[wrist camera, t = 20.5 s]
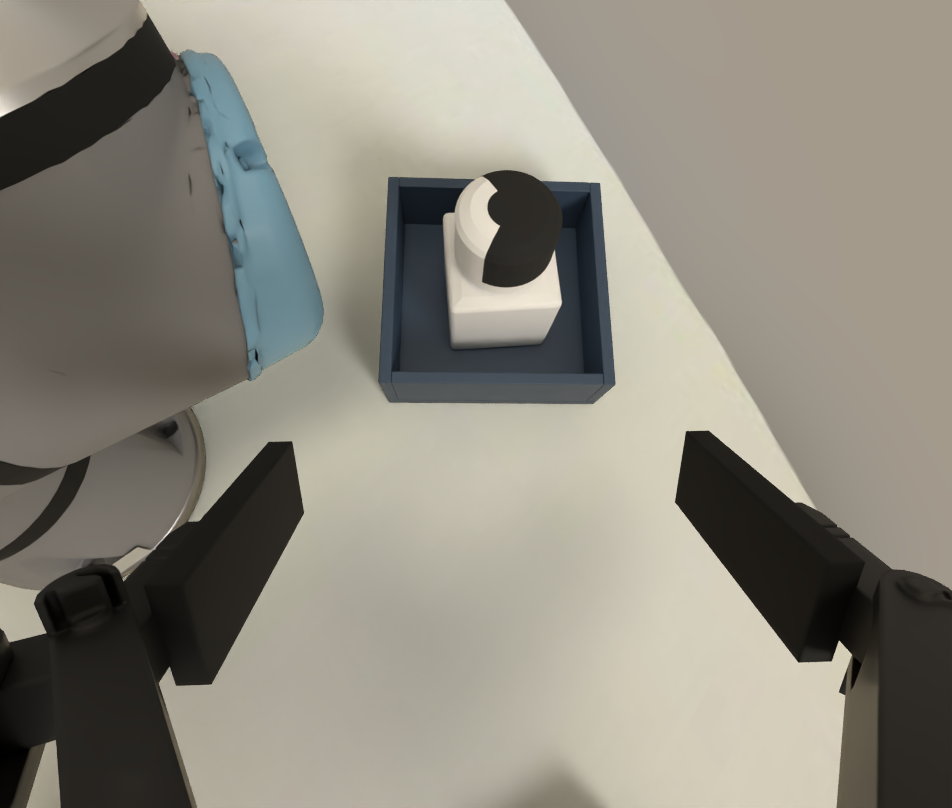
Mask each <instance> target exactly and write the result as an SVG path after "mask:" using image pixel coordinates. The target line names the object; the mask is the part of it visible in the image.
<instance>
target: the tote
mask: <svg viewBox="0 0 952 808" xmlns="http://www.w3.org/2000/svg"><path fill="white" fill-rule="evenodd" d="M474 180H475V179H443V178H408V177H400V178H399V177H389V178H388V196H387V217H386V238H385V259H384V280H383V300H382V321H381V342H380V363H379V384H380V386H381V387H382V389H383V391H384V393H385V395H386V397H387V399H388V400H389V402H410V403H542V404H593V403H595V402H596V401H597V400H598V399H599V398H600V397H602V396H603V395H604V394H605V393H606V392H607V391H609V390H610V389H611V388H612V387H613V386H614V385H615V372H614V359H613V346H612V333H611V320H610V307H609V294H608V281H607V268H606V255H605V242H604V229H603V216H602V203H601V190H600V183H586V182H550V181H541V182H542V183H544V184H545V185H546V186H547V187H548V188H549V189H550V190H551V191H552V192H553V194H554V195H555V197H556V198H557V200H558V202H559V205H560V207H561V211H562V220H563V223H562V230H561V233H560V236H559V239H558V242H557V244H556V247H555V256H556V263H557V271H558V278H559V285H560V292H561V300H562V304H561V307H560V309H559V311H558V313H557V315H556V317H555V319H554V321H553V323H552V325H551V327H550V329H549V331H548V333H547V335H546V337H545V339H544V341H543V343H542V344H539V345H525V346H509V347H494V348H478V349H462V350H454V349H452V348H451V344H450V331H449V318H448V304H447V291H446V278H445V261H444V236H443V217H444V215H445V214H446V213H455V207H456V204H457V201H458V199H459V196H460V195H461V193H462V192H463V190H464V189H465V188H466V187H467V186H468V185H469V184H470V183H471V182H472V181H474Z"/></svg>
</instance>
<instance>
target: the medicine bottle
mask: <svg viewBox="0 0 952 808" xmlns="http://www.w3.org/2000/svg"><path fill="white" fill-rule="evenodd" d="M562 223H563V220H562V211H561V207H560V205H559V202H558V200H557V198H556V197H555V195H554V194H553V192H552V191H551V190H550V189H549V188H548V187H547V186H546V185H545V184H544V183H542V182H541V181H540V180H538V179H536V178H535V177H533V176H531V175H528V174H526V173H523V172H518V171H511V170H502V171H495V172H491V173H488V174H485V175H483V176H480V177H479V178H477V179H475V180H474V181H472V182H471V183H470V184H469V185H468V186H467V187H466V188H465V189H464V190H463V192H462V193H461V195H460V196H459V199H458V201H457V204H456V207H455V213H446V214H445V215H444V217H443V236H444V261H445V278H446V291H447V304H448V318H449V331H450V344H451V348H452V349H454V350H462V349H478V348H494V347H509V346H525V345H539V344H542V343H543V341H544V339H545V337H546V335H547V333H548V331H549V329H550V327H551V325H552V323H553V321H554V319H555V317H556V315H557V313H558V311H559V309H560V307H561V304H562V300H561V292H560V285H559V278H558V271H557V263H556V256H555V247H556V244H557V242H558V239H559V236H560V233H561V230H562Z"/></svg>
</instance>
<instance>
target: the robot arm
mask: <svg viewBox="0 0 952 808" xmlns="http://www.w3.org/2000/svg"><path fill="white" fill-rule="evenodd" d="M178 58H179V59H178V60H176V59H175V58H174V57H173V56H172V54H171V52H170V51H169V49H168V47H167V46H166V44H165V42H164V41H163V39H162V37H161V35H160V34H159V32H158V30H157V29H156V27H155V25H154V24H153V22H152V20H151V18H150V17H149V15H148V13H147V12H146V9H145V8H144V6H143V4H142V3H141V1H140V0H0V583H4V584H7V585H11V586H15V587H19V588H24V589H30V590H42V591H41V592H40V593H39V594H38V595H37V597H36V599H35V602H34V605H35V607H36V610H37V612H38V614H39V617H40V619H41V621H42V623H43V626H44V628H45V630H46V634H42V635H38V636H34V637H30V638H26V639H22V640H18V641H14V642H10V643H9V641H8V639H7V637H6V635H5V633H4V631H3V630H1V629H0V808H26V806H27V803H28V800H29V797H30V793H31V790H32V787H33V783H34V780H35V777H36V773H37V770H38V767H39V764H40V760H41V757H42V754H43V750H44V747H45V744H46V743H47V742H50V741H54V740H56V746H57V759H58V773H59V787H60V801H61V808H197V805H196V802H195V799H194V796H193V792H192V789H191V786H190V783H189V779H188V776H187V773H186V770H185V766H184V763H183V760H182V757H181V753H180V750H179V747H178V744H177V740H176V737H175V734H174V731H173V727H172V724H171V721H170V718H169V714H168V711H167V708H166V705H165V701H164V698H163V695H162V692H161V689H160V686H159V682H160V680H161V679H162V677H163V676H164V674H165V672H166V671H167V669H168V668H169V666H170V669H171V672H172V675H173V678H174V681H175V684H176V686H182V685H209V684H212V682H213V681H214V679H215V677H216V675H217V673H218V671H219V670H220V668H221V666H222V664H223V662H224V660H225V658H226V657H227V655H228V653H229V651H230V649H231V647H232V645H233V644H234V642H235V640H236V638H237V636H238V634H239V632H240V631H241V629H242V627H243V625H244V623H245V621H246V619H247V618H248V616H249V614H250V612H251V610H252V608H253V607H254V605H255V603H256V601H257V599H258V597H259V595H260V594H261V592H262V590H263V588H264V586H265V584H266V582H267V581H268V579H269V577H270V575H271V573H272V571H273V569H274V568H275V566H276V564H277V562H278V560H279V558H280V556H281V555H282V553H283V551H284V549H285V547H286V545H287V543H288V542H289V540H290V538H291V536H292V534H293V532H294V531H295V529H296V527H297V525H298V523H299V521H300V519H301V518H302V516H303V514H304V510H303V504H302V498H301V492H300V486H299V480H298V474H297V468H296V462H295V456H294V450H293V444H292V441H289V442H268V443H267V445H266V446H265V447H264V448H263V449H262V450H261V451H260V452H259V454H258V455H257V456H256V457H255V458H254V459H253V460H252V462H251V463H250V464H249V465H248V466H247V467H246V468H245V470H244V471H243V472H242V473H241V474H240V475H239V476H238V478H237V479H236V480H235V481H234V482H233V483H232V484H231V486H230V487H229V488H228V489H227V490H226V491H225V492H224V494H223V495H222V496H221V497H220V498H219V499H218V500H217V502H216V503H215V504H214V505H213V506H212V507H211V508H210V510H209V511H208V512H207V513H206V514H205V515H204V516H203V518H202V519H201V520H200V521H199V522H187V521H188V519H189V517H190V515H191V514H192V512H193V510H194V508H195V505H196V503H197V501H198V498H199V495H200V492H201V489H202V485H203V481H204V475H205V465H206V454H205V445H204V439H203V435H202V431H201V428H200V426H199V423H198V421H197V419H196V417H195V415H194V413H193V412H192V410H191V409H190V407H191V406H193V405H195V404H197V403H199V402H201V401H203V400H205V399H207V398H209V397H211V396H213V395H215V394H217V393H219V392H222V391H224V390H226V389H228V388H230V387H232V386H234V385H236V384H238V383H240V382H242V381H244V380H246V379H247V380H249V381H252V380H254V379H256V378H257V377H258V376H259V375H260V374H261V372H262V370H263V369H265V368H267V367H269V366H270V365H272V364H274V363H276V362H278V361H280V360H281V359H283V358H285V357H287V356H289V355H291V354H292V353H294V352H296V351H298V350H300V349H301V348H303V347H305V346H307V345H308V344H309V343H310V342H311V341H312V340H314V338H315V337H316V336H317V334H318V332H319V329H320V327H321V325H322V322H323V316H324V309H323V302H322V298H321V294H320V290H319V287H318V284H317V281H316V278H315V275H314V272H313V269H312V266H311V263H310V261H309V258H308V255H307V252H306V250H305V247H304V244H303V242H302V239H301V236H300V234H299V231H298V229H297V226H296V224H295V221H294V219H293V216H292V214H291V211H290V209H289V206H288V203H287V201H286V199H285V196H284V194H283V191H282V189H281V187H280V184H279V182H278V180H277V177H276V175H275V173H274V171H273V169H272V168H271V166H270V165H269V164H268V163H267V155H266V153H265V151H264V148H263V146H262V144H261V142H260V140H259V138H258V135H257V132H256V129H255V126H254V123H253V121H252V118H251V116H250V114H249V112H248V110H247V107H246V105H245V103H244V101H243V99H242V97H241V95H240V92H239V90H238V88H237V86H236V84H235V82H234V80H233V78H232V77H231V75H230V73H229V71H228V70H227V68H226V67H225V65H224V64H223V63H222V61H221V60H220V59H219V58H218V57H217V56H215V55H213V54H210V53H196V52H194V51H193V50H189V49H188V50H186V51H183V52H181V53H180V55H179V56H178ZM675 503H676V504H677V505H678V506H679V508H680V509H681V510H682V512H683V513H684V514H685V516H686V517H687V518H688V519H689V521H690V522H691V523H692V525H693V526H694V527H695V529H696V530H697V531H698V532H699V534H700V535H701V536H702V538H703V539H704V540H705V542H706V543H707V544H708V545H709V547H710V548H711V549H712V551H713V552H714V553H715V555H716V556H717V557H718V558H719V560H720V561H721V562H722V564H723V565H724V566H725V568H726V569H727V570H728V571H729V573H730V574H731V575H732V577H733V578H734V579H735V581H736V582H737V583H738V584H739V586H740V587H741V588H742V590H743V591H744V592H745V594H746V595H747V596H748V597H749V599H750V600H751V601H752V603H753V604H754V605H755V607H756V608H757V609H758V610H759V612H760V613H761V614H762V616H763V617H764V618H765V620H766V621H767V622H768V623H769V625H770V626H771V627H772V629H773V630H774V631H775V633H776V634H777V635H778V636H779V638H780V639H781V640H782V642H783V643H784V644H785V646H786V647H787V648H788V649H789V651H790V652H791V653H792V655H793V656H794V657H795V659H796V660H797V661H798V662H825V661H832V659H833V656H834V653H835V650H836V647H837V644H838V641H840V642H841V643H842V644H843V645H844V646H845V647H846V648H847V649H848V650H849V652H850V653H851V654H852V657H851V659H850V662H849V665H848V668H847V671H846V673H845V676H844V679H843V682H842V685H841V687H840V690H839V693H842V694H844V695H845V694H846V695H845V708H844V721H843V733H842V746H841V759H840V771H839V784H838V796H837V808H952V591H951V590H950V589H949V588H948V587H946V586H944V585H942V584H941V583H939V582H937V581H935V580H933V579H931V578H928V577H926V576H923V575H921V574H918V573H914V572H910V571H905V570H892V569H891V568H890V567H889V566H887V565H886V564H885V563H884V562H882V561H881V560H880V559H879V558H877V557H876V556H875V555H873V554H872V553H871V552H870V551H869V550H867V549H866V548H865V547H864V546H862V545H861V544H860V543H859V542H857V541H856V540H855V539H854V538H850V536H849V534H847V533H846V532H845V531H844V530H842V529H841V528H838V527H837V525H836V524H835V523H834V522H833V521H831V520H830V519H829V518H827V517H826V516H825V515H823V513H821V512H819V511H817V510H815V509H813V508H811V507H809V506H807V505H805V504H803V503H794V502H793V501H792V500H791V499H790V498H788V497H787V496H786V495H785V494H784V493H782V492H781V491H780V490H779V489H778V488H776V487H775V486H774V485H773V484H772V483H770V482H769V481H768V480H767V479H766V478H764V477H763V476H762V475H761V474H760V473H758V472H757V471H756V470H755V469H754V468H753V467H751V466H750V465H749V464H748V463H747V462H745V461H744V460H743V459H742V458H741V457H739V456H738V455H737V454H736V453H735V452H733V451H732V450H731V449H730V448H729V447H727V446H726V445H725V444H724V443H723V442H721V441H720V440H719V439H718V438H717V437H715V436H714V435H713V434H712V433H711V432H710V431H686V435H685V442H684V448H683V455H682V461H681V467H680V474H679V480H678V487H677V493H676V499H675ZM130 573H131V574H130ZM128 574H130V575H129V576H128V577H127V578H126V580H125V581H124V582H123V579H122V577H124V576H126V575H128Z"/></svg>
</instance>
